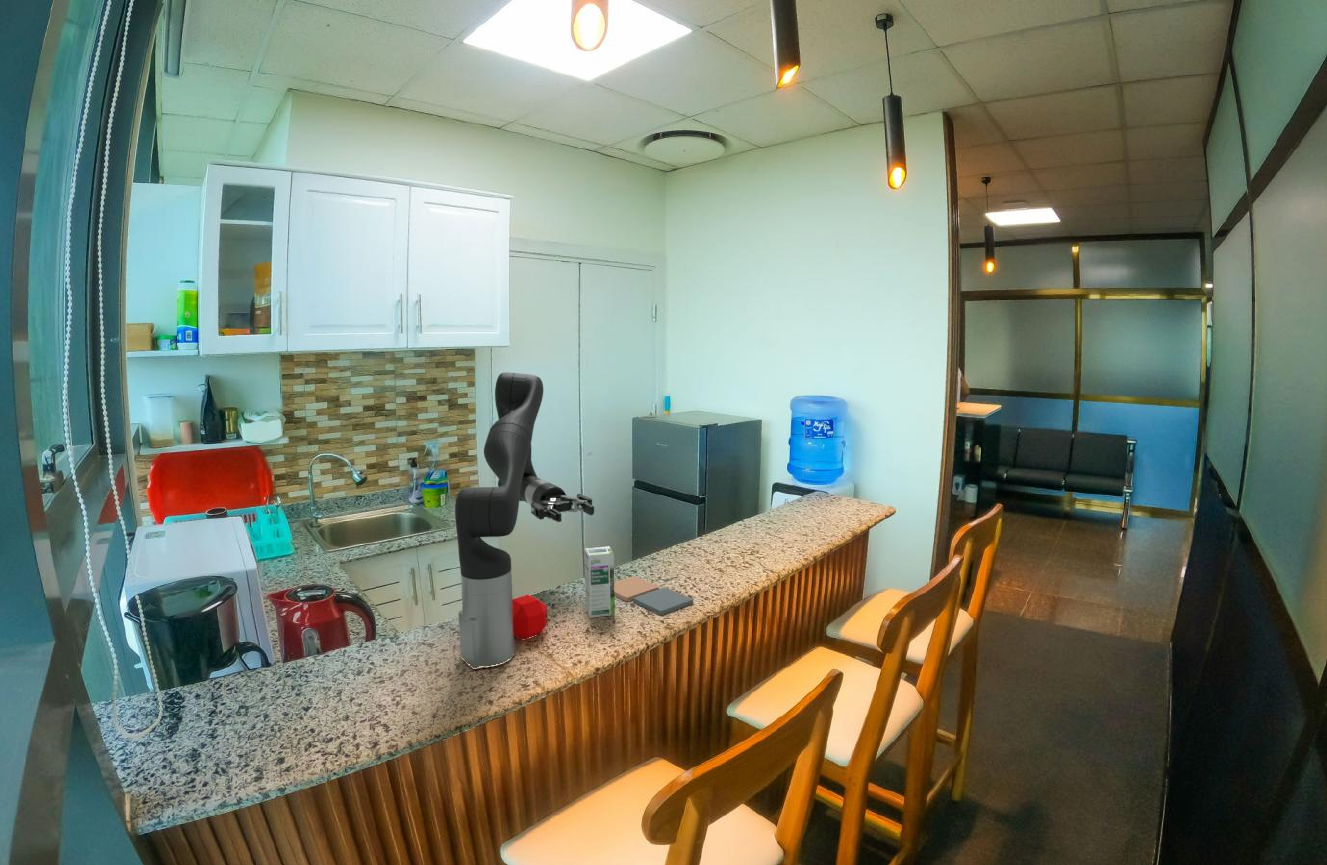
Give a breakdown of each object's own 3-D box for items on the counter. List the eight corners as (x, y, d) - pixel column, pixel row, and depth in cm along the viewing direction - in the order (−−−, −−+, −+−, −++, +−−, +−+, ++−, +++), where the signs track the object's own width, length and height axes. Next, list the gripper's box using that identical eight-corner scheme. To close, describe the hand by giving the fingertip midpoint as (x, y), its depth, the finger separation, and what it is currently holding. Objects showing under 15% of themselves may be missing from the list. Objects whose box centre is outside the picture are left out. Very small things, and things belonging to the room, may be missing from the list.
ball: (553, 634, 129) (552, 599, 128) (519, 647, 124) (518, 610, 123) (532, 622, 135) (531, 589, 134) (499, 634, 130) (497, 599, 129)
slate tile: (660, 615, 139) (660, 611, 138) (632, 601, 146) (632, 597, 146) (693, 603, 145) (693, 599, 145) (664, 590, 152) (664, 587, 152)
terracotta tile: (626, 601, 146) (626, 597, 146) (601, 589, 154) (601, 585, 153) (659, 590, 153) (659, 586, 152) (633, 579, 160) (633, 575, 160)
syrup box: (589, 618, 137) (588, 555, 135) (585, 608, 143) (584, 546, 141) (615, 615, 138) (614, 552, 137) (610, 605, 144) (609, 544, 142)
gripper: (518, 487, 153) (548, 504, 141) (569, 478, 162) (602, 493, 149) (519, 516, 155) (549, 535, 142) (570, 506, 163) (602, 523, 150)
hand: (576, 514), depth 146 cm, fingers open, 8 cm apart
